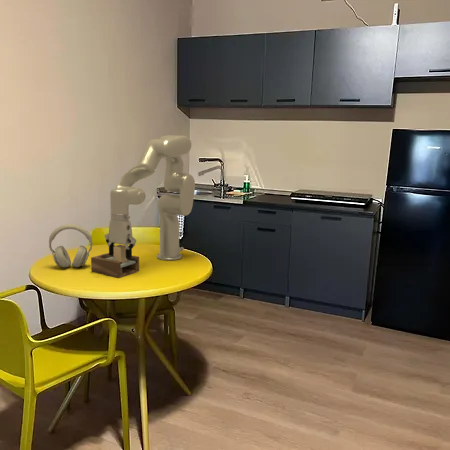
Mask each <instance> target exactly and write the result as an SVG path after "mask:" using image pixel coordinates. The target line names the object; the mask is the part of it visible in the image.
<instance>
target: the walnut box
mask: <svg viewBox="0 0 450 450" xmlns="http://www.w3.org/2000/svg"><path fill="white" fill-rule="evenodd" d="M112 256H113V257H114V254H113V255H109V252H107V253H103V254H99V255H96V256H91V257H90V264H91V267H90V268H91V273H93V274H97V275H98V274H99V275H101V276H102V275H103V276H108V277H111V278H116V279H121V278H124V277H127V276H129V275H133V274H135V273H139V272H140V256H136V255H132V257H131V258H128V260H134V261H136V263H134V264H131V265H128V266H125V267H122V268H121V264H122V262H120V261H115V260H110V259H105V258H109V257H112Z"/></svg>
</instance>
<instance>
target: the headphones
mask: <svg viewBox="0 0 450 450" xmlns="http://www.w3.org/2000/svg"><path fill="white" fill-rule="evenodd" d="M65 230H75V231H77V232H80V233H81V234H83V235H84V237H85V239H87V241H88V242H89V244H90V247H89V249H88V248H87V247H86V246H85V245H80V246H79V248H78V249H77V252H76V254H75V256H74V257H73V258H74V259H73V261H72V260H71V257H70V255H69V252H68V251H67V249H66V248H65V247H64V246H63V245H59V246H57V247H56V248H55V249H53V248H52V242H53V240H54V239H55V238H56V236H57V235H58V234H59V233H61V232H63V231H65ZM48 248H49V251H50V252H51V254H52V259H53V261H54V263H55V264H56V265H57V267H59V268H60V267H62V268H64V269H66V268H68V267H70V266H72V267H74V268H80V267H81V266H82V267H84V266H85V265H86V263H87V260H88V258H89V256H90V252H91V251H92V248H93V238H92V235H91V233H90V231H88V229H86V228H85V227H84V226H81V225H78V224H76V223H65V224H61V225H60V226H58V227H56V228H55V229H54V230H53V231H52V232H51V233H50V235H49V239H48Z"/></svg>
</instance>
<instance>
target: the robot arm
mask: <svg viewBox="0 0 450 450" xmlns="http://www.w3.org/2000/svg"><path fill="white" fill-rule="evenodd" d="M191 148H192V140H191V139H190V137H188V136H186V135H171V134H170V135H162V136H160V137H159V138H153V139H150V140H149V141H148V142H147V144H146V146H145V147H144V149H143V151H142V153H141V155H140V157H139V160H138V161H137V163H136V164H135V165H133V167H131V168H130V169H129V170H128V171H127V172H125V173H124V174H123V176H121V178H120V179H119V181H118V183H117V185H116V186H115V188H112V189H111V190H110V194H109V195H110V200H109V201H110V202H109V203H110V220H109V226H108V233H106V234H104V238H105V242H106V243H107V246H108V253H109V255H113V254H114V246H116V245H124V246H126V248H127V249H126V258H127V259H128V258H131V257H132V256H133V249H134V247H135V246H136V243H137V239H136V238H135V237H133V229H132V224H131V223H132V222H131V220H130V219H131V216H130V215H129V213H130V212H129V209H130V208H129V205H133V206H134V205H136V206H137V205H141V204H142V203H143V202H145V200H146V196H147V195H146V192H145V191H144V190H143V188H140V187H135V186H134V184H136V183H137V182H138V181H141V180H143V179H146V178H148V177H151V176H152V175H154V173H155V172H156V169H157V167H158V166H159V163H160V161H161V159H165V163H166V164H165V171H164V172H165V173H164V179H163V188H164V190H166V191H167V192H170V193H171V192H172V193H179V194H178V195H177V194H163V195H161V196H159V198H158V200H157V209H158V213H159V253H158V254H157V255H156V258H157V259H158V260H162V261H175V260H176V261H177V260H181V259H183V255H182V254H181V252H182V251H184V250H185V248H184V247H183V246H181V247H180V221H179V218H178V216H182V217H186V216H188V215H189V214H190V213H192V209H193V204H194V197H195V192H196V181H195V178H194V176H193V175H192V174H190V173H185V172H184V160H183V157H182V156H184V155H187V154H188V153H189V152H190V151H191Z"/></svg>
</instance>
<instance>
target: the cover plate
mask: <svg viewBox="0 0 450 450" xmlns="http://www.w3.org/2000/svg"><path fill="white" fill-rule="evenodd" d="M126 249H127V248H126V246H125V245H123V244H116V245H115V246H114V257H113V256H112V257H109V258H105V259H110V260H115V261H120V262H122V264H121V268H122V267H125V266H128V265H131V264H134V263H136V261H134V260H128V259H127V258H126Z"/></svg>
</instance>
